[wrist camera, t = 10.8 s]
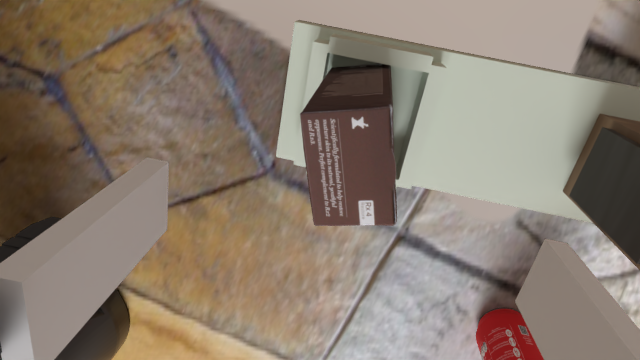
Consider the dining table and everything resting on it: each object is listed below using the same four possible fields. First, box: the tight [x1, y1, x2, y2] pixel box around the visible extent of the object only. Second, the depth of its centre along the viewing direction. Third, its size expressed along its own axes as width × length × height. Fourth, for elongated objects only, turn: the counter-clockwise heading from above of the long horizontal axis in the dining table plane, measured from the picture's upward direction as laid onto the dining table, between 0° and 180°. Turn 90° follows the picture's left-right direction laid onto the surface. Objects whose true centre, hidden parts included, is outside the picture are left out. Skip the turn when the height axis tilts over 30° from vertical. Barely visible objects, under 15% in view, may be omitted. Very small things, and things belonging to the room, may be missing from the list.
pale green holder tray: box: [276, 20, 640, 223], centre depth 29 cm, size 30×10×4 cm, turn 80°
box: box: [300, 63, 397, 226], centre depth 24 cm, size 6×4×12 cm
